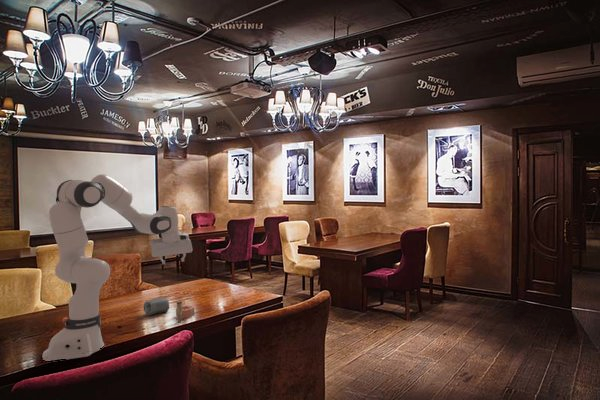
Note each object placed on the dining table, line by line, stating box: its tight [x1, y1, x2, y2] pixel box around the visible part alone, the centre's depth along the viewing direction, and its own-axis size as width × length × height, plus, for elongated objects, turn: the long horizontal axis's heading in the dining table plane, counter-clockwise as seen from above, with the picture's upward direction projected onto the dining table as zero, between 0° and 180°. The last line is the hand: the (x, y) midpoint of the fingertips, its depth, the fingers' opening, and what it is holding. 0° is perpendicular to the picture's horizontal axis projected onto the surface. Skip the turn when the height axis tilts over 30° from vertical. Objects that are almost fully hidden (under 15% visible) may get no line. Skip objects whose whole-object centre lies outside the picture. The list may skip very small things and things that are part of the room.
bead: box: [175, 304, 196, 319], centre depth 211 cm, size 9×9×4 cm
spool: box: [143, 296, 170, 316], centre depth 215 cm, size 14×10×10 cm
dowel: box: [176, 300, 183, 323], centre depth 201 cm, size 2×2×10 cm
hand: (173, 262), depth 205 cm, fingers open, 8 cm apart
